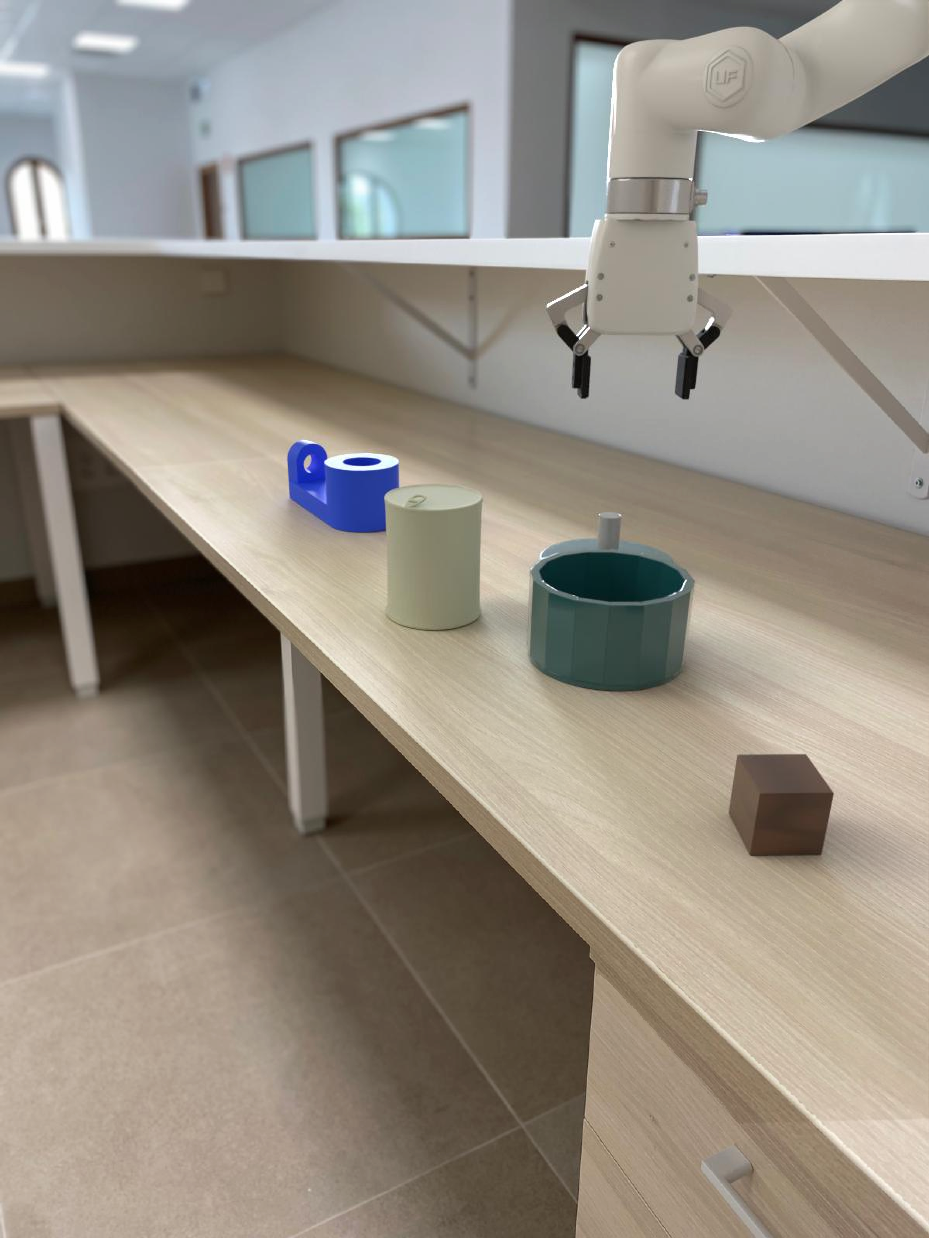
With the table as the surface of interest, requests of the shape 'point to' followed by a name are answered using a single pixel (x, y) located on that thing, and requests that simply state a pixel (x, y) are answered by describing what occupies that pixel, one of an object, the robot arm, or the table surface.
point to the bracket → (342, 486)
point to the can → (433, 555)
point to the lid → (605, 540)
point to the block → (780, 804)
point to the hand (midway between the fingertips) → (632, 396)
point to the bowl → (609, 619)
